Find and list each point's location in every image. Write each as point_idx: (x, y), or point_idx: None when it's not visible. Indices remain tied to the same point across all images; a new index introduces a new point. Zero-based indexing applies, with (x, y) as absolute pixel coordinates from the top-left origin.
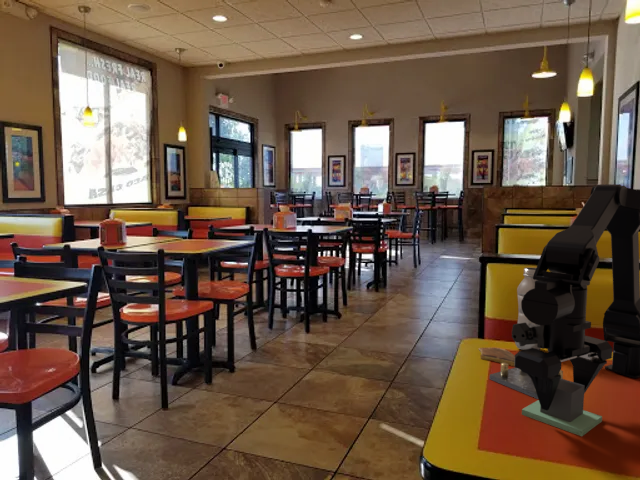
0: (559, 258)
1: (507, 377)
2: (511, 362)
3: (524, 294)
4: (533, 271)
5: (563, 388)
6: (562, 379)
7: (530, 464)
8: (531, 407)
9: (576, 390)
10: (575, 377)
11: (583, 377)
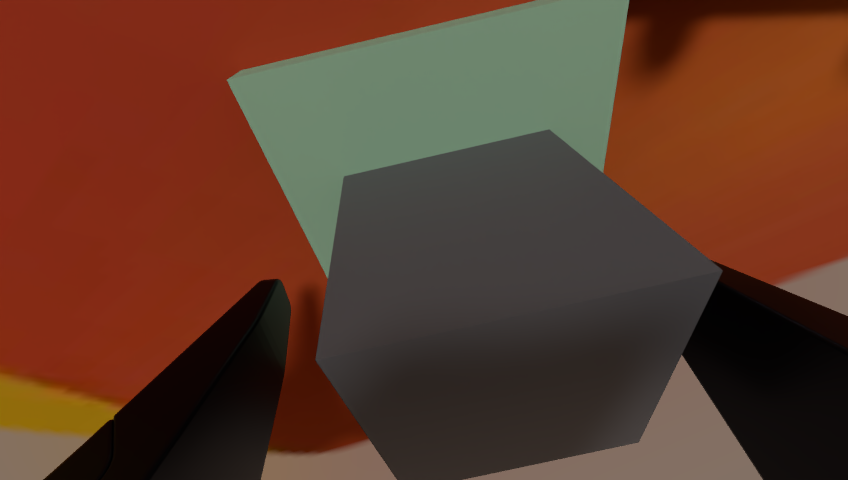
0: None
1: None
2: None
3: None
4: None
5: (432, 451)
6: (671, 343)
7: (4, 399)
8: (337, 95)
9: (488, 471)
10: (807, 356)
11: (786, 425)
